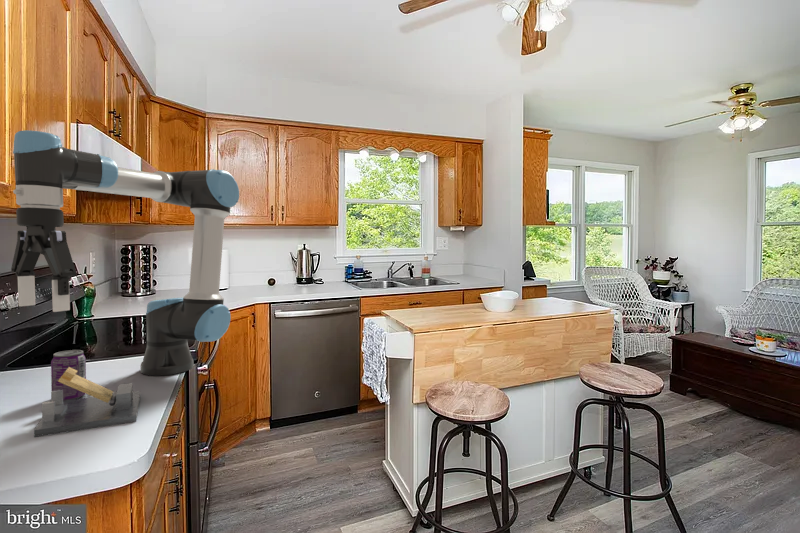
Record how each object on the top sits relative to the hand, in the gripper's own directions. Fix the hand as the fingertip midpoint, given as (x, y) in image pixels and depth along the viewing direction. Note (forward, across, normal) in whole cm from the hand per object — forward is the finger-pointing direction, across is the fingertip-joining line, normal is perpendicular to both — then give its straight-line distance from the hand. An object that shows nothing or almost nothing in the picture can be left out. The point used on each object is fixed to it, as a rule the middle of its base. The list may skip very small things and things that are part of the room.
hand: (43, 308), depth 89 cm
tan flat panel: (+21, -1, +9) cm, 22 cm away
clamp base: (+27, -1, +9) cm, 28 cm away
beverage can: (+27, -17, +13) cm, 35 cm away
